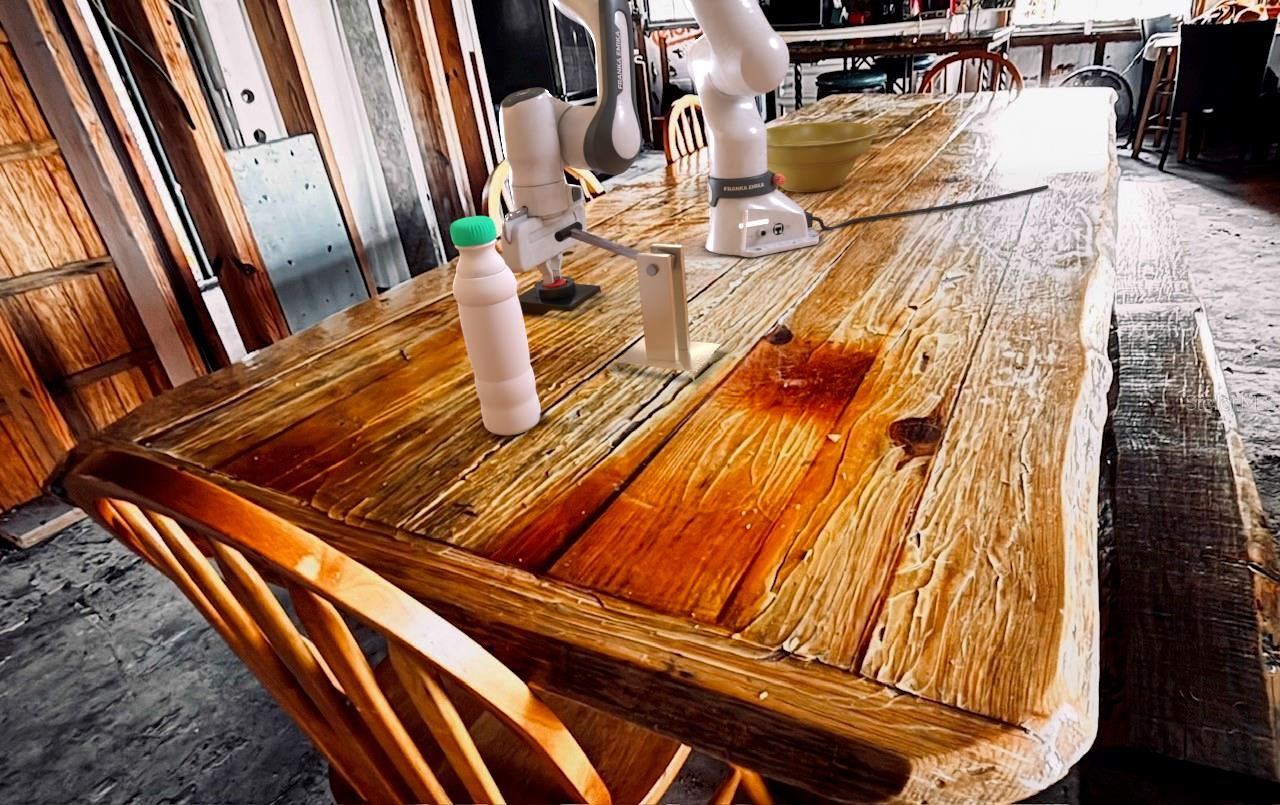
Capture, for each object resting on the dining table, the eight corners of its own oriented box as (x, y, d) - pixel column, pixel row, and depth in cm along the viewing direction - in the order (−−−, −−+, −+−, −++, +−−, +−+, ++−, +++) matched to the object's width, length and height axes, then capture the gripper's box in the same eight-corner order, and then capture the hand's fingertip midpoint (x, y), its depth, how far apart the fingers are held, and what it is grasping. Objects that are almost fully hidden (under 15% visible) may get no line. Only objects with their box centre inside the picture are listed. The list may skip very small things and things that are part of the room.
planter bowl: (892, 194, 167) (897, 134, 160) (756, 207, 168) (755, 148, 162) (856, 169, 195) (859, 117, 189) (740, 180, 197) (739, 129, 190)
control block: (513, 312, 121) (508, 290, 119) (545, 292, 128) (541, 271, 127) (572, 318, 116) (568, 295, 114) (602, 297, 123) (599, 275, 121)
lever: (553, 243, 94) (554, 226, 93) (573, 233, 98) (574, 216, 96) (660, 281, 89) (664, 264, 88) (677, 269, 93) (680, 252, 92)
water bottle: (488, 412, 89) (442, 215, 77) (543, 405, 90) (506, 208, 78) (482, 441, 83) (431, 232, 71) (541, 433, 83) (501, 223, 72)
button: (539, 294, 120) (537, 284, 119) (552, 286, 123) (550, 277, 122) (559, 296, 118) (557, 286, 118) (571, 288, 121) (570, 278, 121)
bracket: (616, 370, 97) (602, 258, 89) (645, 344, 104) (634, 238, 96) (696, 381, 91) (688, 263, 84) (721, 352, 98) (716, 241, 91)
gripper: (518, 216, 104) (533, 304, 111) (588, 185, 120) (598, 264, 126) (484, 215, 107) (501, 301, 113) (557, 185, 123) (568, 262, 129)
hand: (553, 281), depth 120 cm, fingers closed, pressing on button
